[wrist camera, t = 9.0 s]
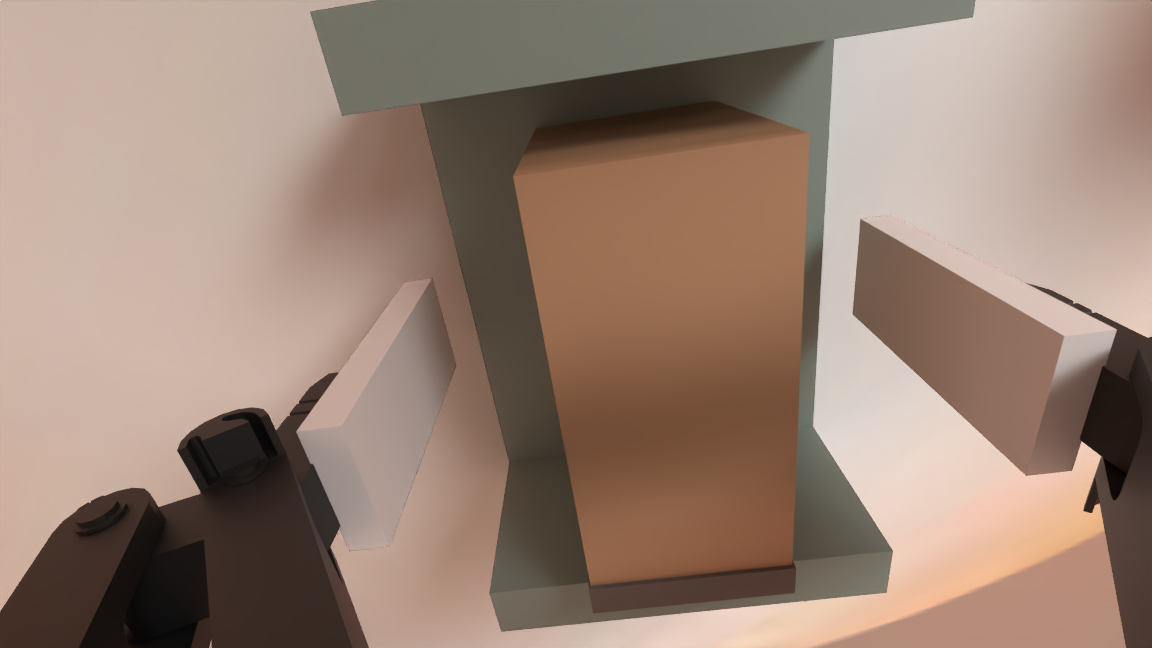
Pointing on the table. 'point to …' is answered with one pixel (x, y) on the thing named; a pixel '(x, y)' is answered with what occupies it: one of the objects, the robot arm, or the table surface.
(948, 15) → the bracket
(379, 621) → the table surface
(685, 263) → the rail end
